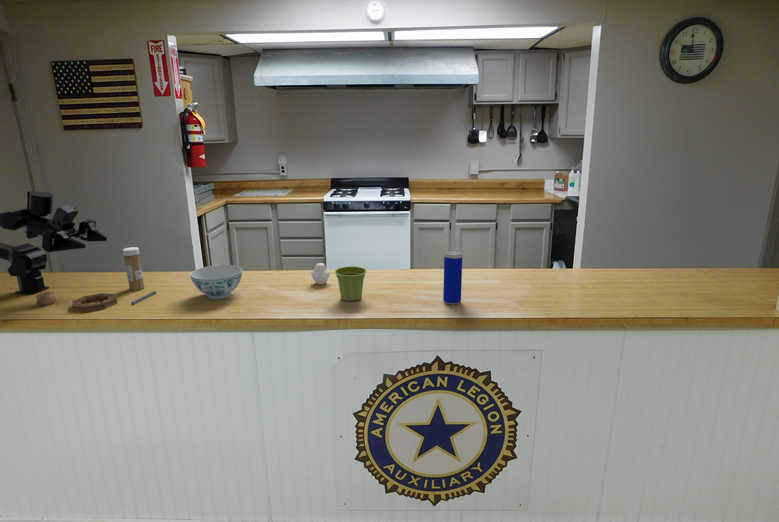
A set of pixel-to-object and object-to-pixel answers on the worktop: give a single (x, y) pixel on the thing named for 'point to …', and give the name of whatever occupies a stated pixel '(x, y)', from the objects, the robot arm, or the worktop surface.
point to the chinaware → (217, 280)
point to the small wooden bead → (45, 299)
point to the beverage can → (452, 277)
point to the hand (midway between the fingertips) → (96, 242)
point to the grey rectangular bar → (143, 297)
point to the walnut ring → (81, 306)
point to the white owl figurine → (320, 273)
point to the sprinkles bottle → (133, 268)
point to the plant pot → (350, 282)
